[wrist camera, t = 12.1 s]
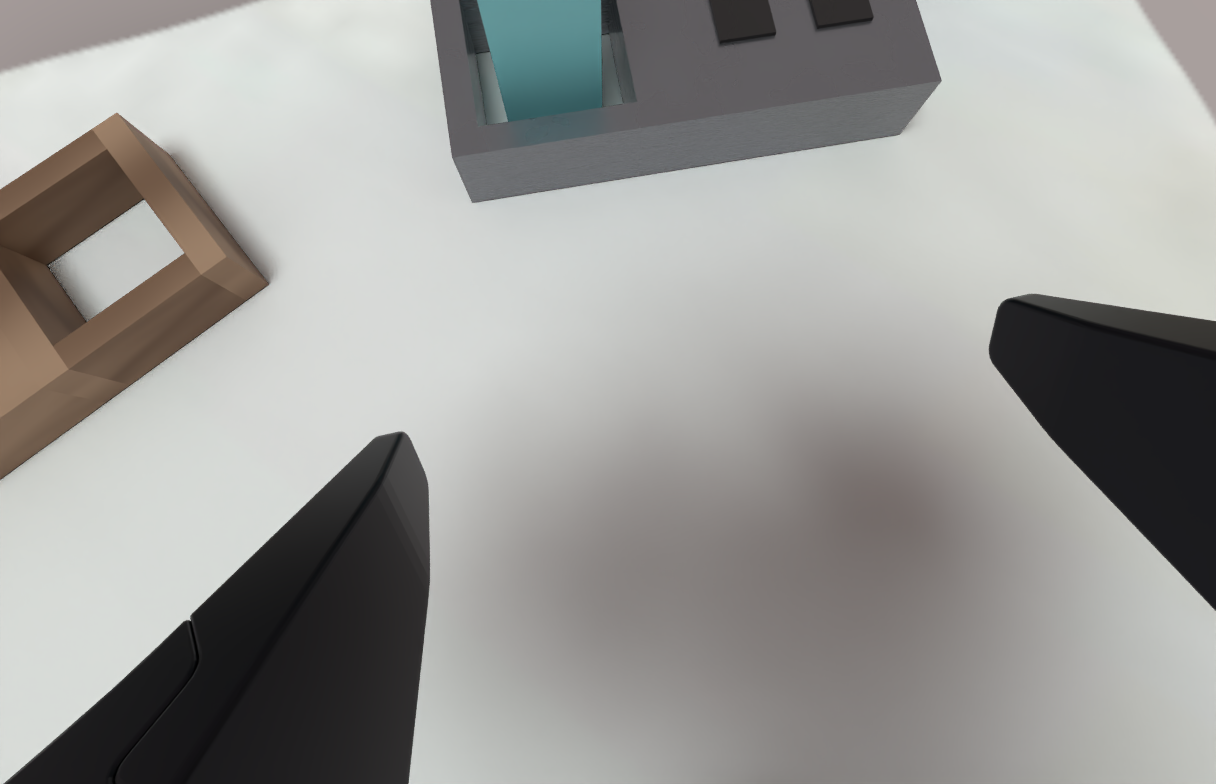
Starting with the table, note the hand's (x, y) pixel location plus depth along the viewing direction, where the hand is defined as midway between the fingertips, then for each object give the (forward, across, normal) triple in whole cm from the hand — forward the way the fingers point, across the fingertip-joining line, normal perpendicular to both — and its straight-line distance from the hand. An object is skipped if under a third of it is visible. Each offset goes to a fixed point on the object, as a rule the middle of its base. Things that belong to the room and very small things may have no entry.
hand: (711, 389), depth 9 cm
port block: (+19, -4, -2) cm, 19 cm away
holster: (+15, +21, +2) cm, 26 cm away
